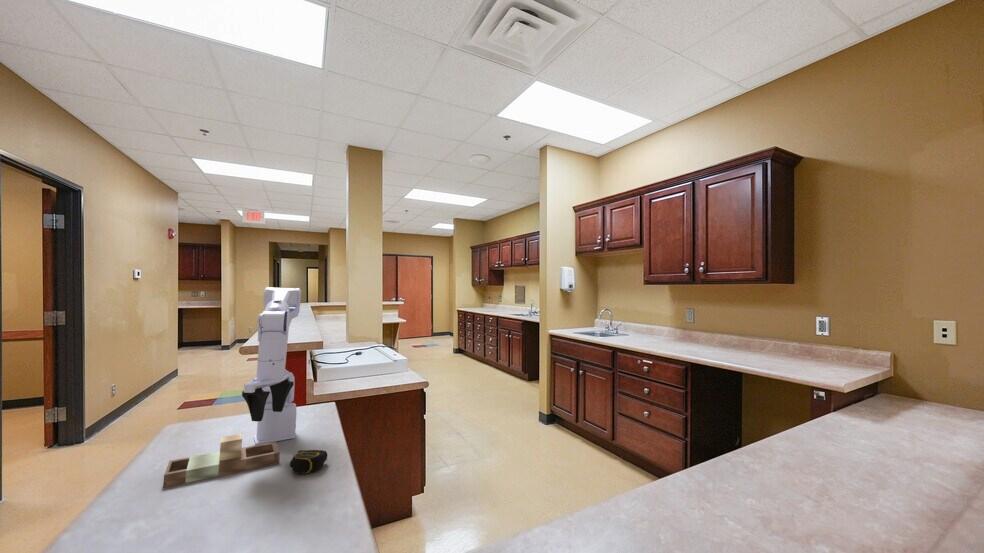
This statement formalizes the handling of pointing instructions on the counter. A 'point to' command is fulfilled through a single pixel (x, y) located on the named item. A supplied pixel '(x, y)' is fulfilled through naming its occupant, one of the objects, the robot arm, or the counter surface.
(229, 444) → the beech block
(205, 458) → the frame
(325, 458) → the tape measure
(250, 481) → the counter surface
